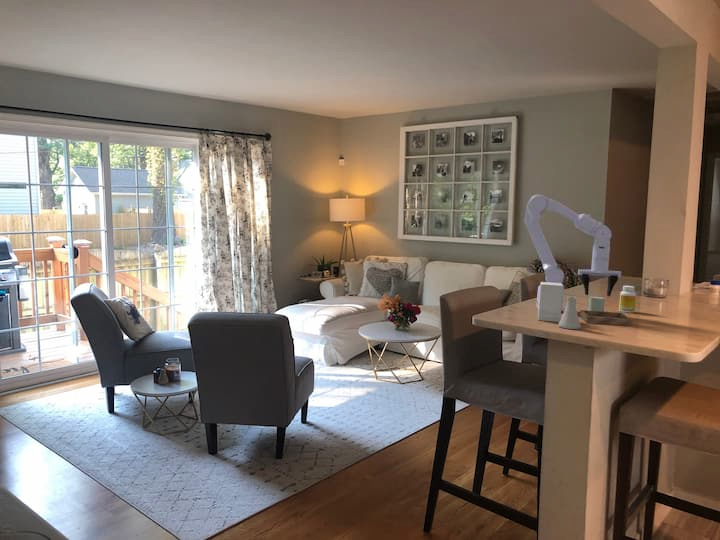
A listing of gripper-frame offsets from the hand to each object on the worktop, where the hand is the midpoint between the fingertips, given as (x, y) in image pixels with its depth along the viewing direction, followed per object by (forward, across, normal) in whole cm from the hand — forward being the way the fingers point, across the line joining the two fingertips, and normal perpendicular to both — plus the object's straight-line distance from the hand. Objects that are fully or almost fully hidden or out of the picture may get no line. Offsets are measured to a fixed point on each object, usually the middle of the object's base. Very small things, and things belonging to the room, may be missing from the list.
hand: (597, 295), depth 209 cm
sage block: (+7, 0, 0) cm, 7 cm away
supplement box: (+7, -19, -17) cm, 27 cm away
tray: (+7, 0, -13) cm, 15 cm away
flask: (+7, -14, -28) cm, 32 cm away
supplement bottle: (+7, +13, +9) cm, 17 cm away
